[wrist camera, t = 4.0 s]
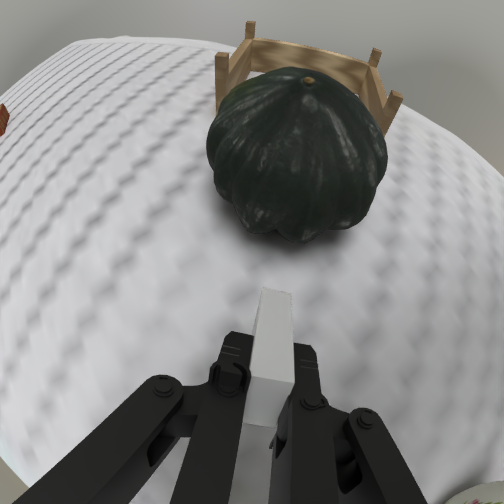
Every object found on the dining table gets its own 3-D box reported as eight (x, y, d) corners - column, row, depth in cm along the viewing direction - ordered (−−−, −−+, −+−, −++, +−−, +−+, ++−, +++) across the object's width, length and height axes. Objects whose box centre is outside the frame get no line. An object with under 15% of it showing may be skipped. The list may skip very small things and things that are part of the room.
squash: (326, 92, 27) (263, 5, 14) (419, 186, 23) (432, 116, 10) (240, 170, 33) (142, 131, 20) (312, 273, 28) (226, 289, 16)
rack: (364, 93, 38) (380, 50, 30) (375, 153, 31) (403, 98, 23) (244, 66, 39) (247, 20, 30) (216, 118, 32) (214, 55, 24)
